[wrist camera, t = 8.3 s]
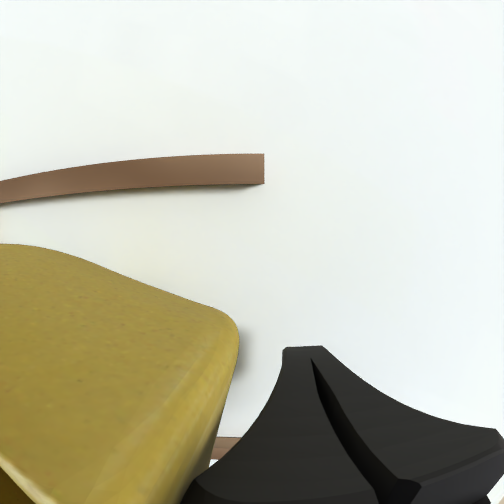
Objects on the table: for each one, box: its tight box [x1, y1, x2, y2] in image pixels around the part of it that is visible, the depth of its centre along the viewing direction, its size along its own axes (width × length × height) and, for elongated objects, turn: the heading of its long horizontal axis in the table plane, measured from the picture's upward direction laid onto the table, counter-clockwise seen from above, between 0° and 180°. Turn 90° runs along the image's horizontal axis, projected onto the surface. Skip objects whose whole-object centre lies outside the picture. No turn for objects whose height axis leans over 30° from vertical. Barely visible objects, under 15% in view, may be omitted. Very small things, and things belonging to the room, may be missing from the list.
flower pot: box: [0, 244, 239, 504], centre depth 7 cm, size 9×9×9 cm
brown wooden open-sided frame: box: [0, 154, 264, 460], centre depth 12 cm, size 14×14×1 cm
